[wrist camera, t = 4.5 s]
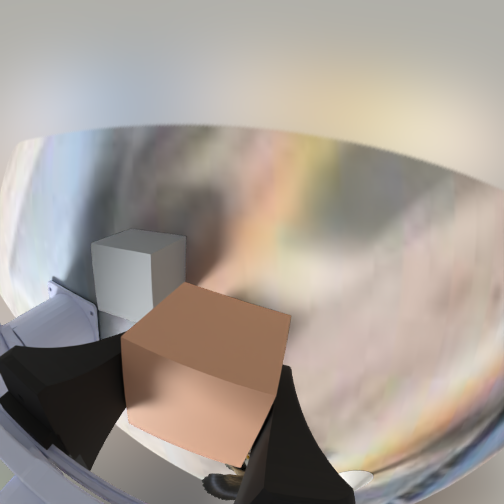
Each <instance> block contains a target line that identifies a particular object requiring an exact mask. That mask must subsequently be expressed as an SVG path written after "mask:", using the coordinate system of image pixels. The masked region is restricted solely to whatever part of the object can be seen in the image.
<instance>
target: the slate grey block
mask: <svg viewBox="0 0 504 504" xmlns="http://www.w3.org/2000/svg"><path fill="white" fill-rule="evenodd" d="M91 255H92V266H93V275H94V284H95V291H96V299H97V305H98V310H100V311H103V312H106V313H108V314H111V315H114V316H117V317H120V318H123V319H126V320H129V321H132V322H135V323H137V322H138V321H139V320H141V319H142V318H143V317H144V316H145V315H146V314H147V313H149V312H150V311H151V310H152V309H153V308H154V307H156V306H157V305H158V304H159V303H160V302H161V301H163V300H164V299H165V298H166V297H167V296H168V295H170V294H171V293H172V292H173V291H174V290H175V289H177V288H178V287H179V286H180V285H181V284H183V283H184V282H186V236H182V235H174V234H167V233H160V232H153V231H145V230H138V229H129V230H126V231H123V232H120V233H117V234H115V235H112V236H109V237H106V238H103V239H101V240H98V241H95V242H92V243H91Z"/></svg>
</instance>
